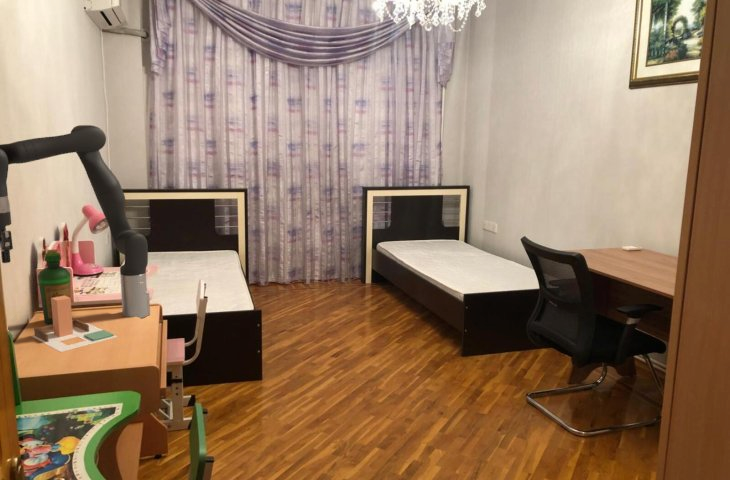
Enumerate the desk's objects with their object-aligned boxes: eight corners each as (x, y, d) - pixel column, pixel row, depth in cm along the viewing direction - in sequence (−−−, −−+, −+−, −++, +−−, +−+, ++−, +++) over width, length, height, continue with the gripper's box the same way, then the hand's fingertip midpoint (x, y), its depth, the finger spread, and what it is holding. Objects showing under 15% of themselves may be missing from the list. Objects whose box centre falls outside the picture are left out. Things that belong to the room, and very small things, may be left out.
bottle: (60, 329, 205) (54, 253, 200) (34, 327, 208) (28, 252, 203) (80, 320, 216) (75, 248, 211) (55, 318, 218) (50, 246, 213)
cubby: (76, 325, 207) (76, 319, 206) (89, 331, 201) (88, 324, 201) (34, 335, 196) (34, 328, 195) (46, 341, 190) (46, 335, 190)
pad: (103, 331, 201) (103, 329, 201) (113, 336, 197) (113, 334, 197) (83, 336, 196) (83, 334, 196) (93, 341, 192) (93, 339, 192)
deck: (87, 325, 210) (86, 322, 210) (117, 339, 197) (117, 336, 197) (31, 339, 196) (31, 336, 195) (60, 355, 182) (60, 351, 182)
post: (67, 331, 201) (64, 295, 199) (73, 333, 198) (70, 297, 196) (53, 334, 197) (51, 298, 195) (59, 337, 195) (56, 300, 192)
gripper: (18, 211, 179) (23, 262, 182) (0, 207, 187) (5, 255, 190) (-9, 214, 173) (-4, 266, 176) (-26, 209, 181) (-21, 259, 184)
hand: (1, 260), depth 183 cm, fingers open, 8 cm apart
